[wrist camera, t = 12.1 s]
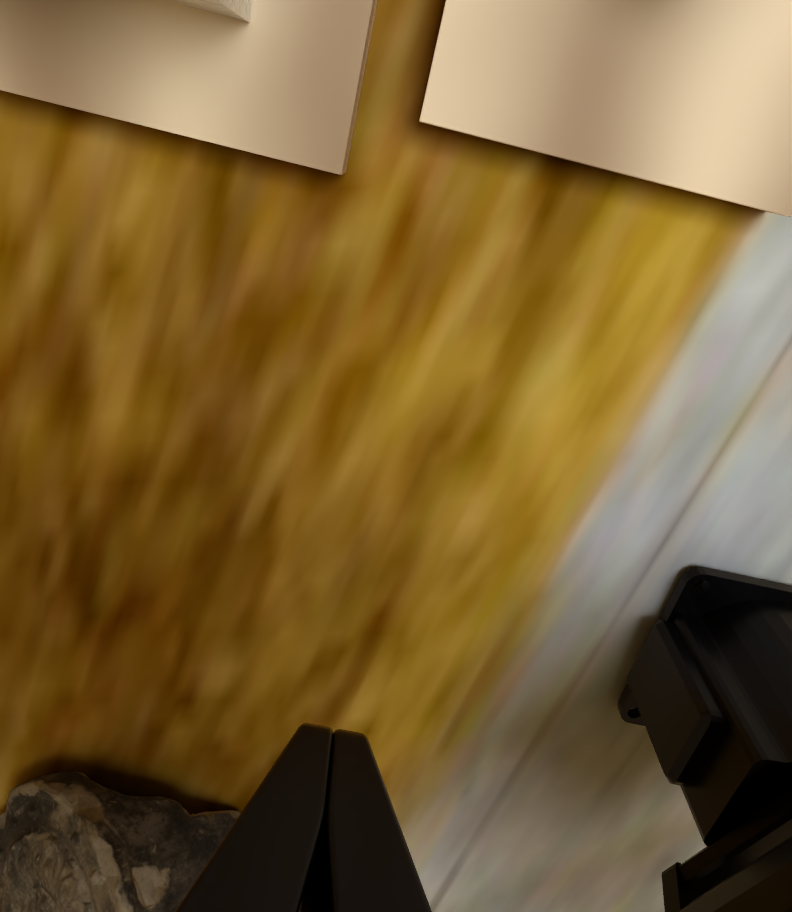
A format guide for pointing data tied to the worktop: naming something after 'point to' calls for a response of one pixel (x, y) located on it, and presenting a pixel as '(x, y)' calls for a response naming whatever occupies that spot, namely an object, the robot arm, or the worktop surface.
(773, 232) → the worktop surface
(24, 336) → the worktop surface
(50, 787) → the carved stone fragment
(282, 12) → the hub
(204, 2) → the collar
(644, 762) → the worktop surface
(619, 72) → the stand
